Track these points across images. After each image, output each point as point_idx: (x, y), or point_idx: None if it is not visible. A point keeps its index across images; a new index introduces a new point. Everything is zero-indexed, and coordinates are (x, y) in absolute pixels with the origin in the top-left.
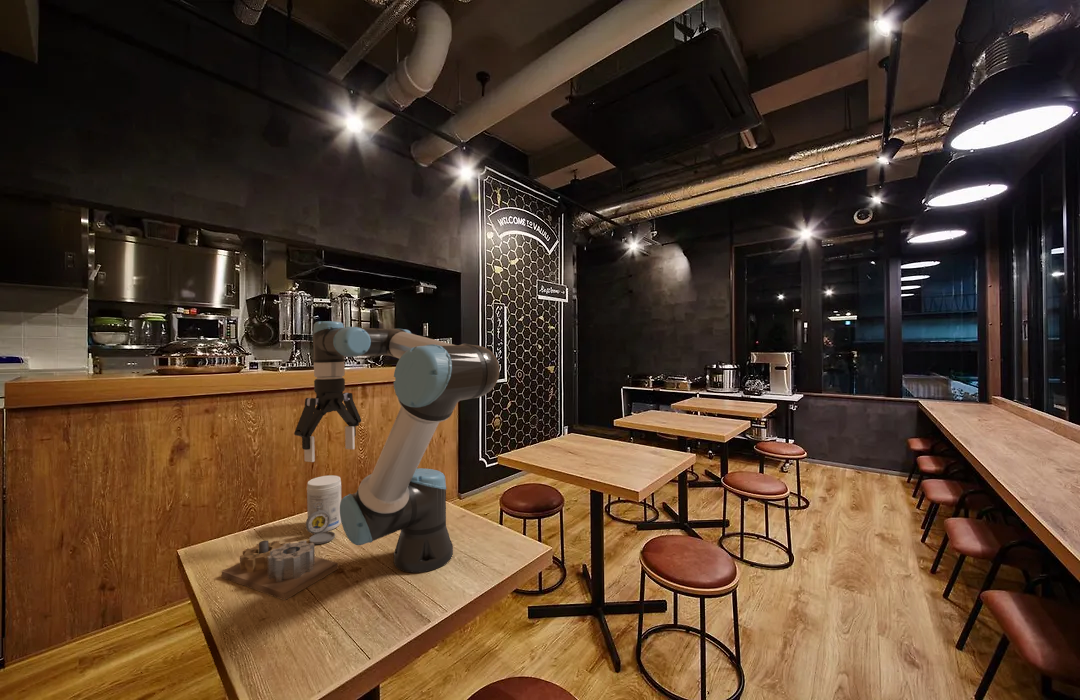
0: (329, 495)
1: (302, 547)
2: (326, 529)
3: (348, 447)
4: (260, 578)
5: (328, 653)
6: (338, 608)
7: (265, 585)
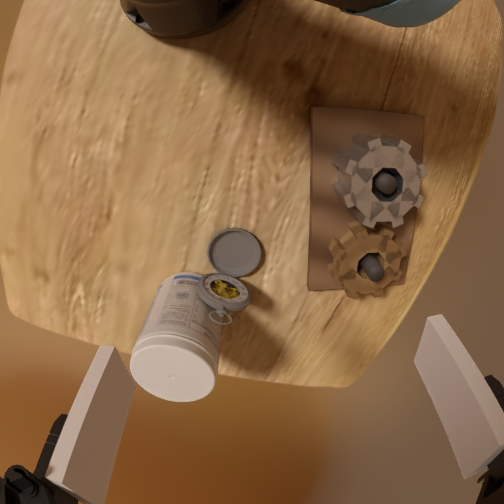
0: (185, 324)
1: (371, 172)
2: None
3: (124, 379)
4: None
5: None
6: None
7: None
